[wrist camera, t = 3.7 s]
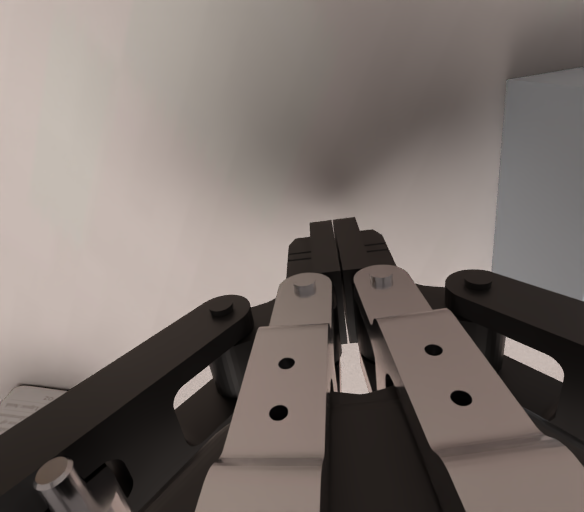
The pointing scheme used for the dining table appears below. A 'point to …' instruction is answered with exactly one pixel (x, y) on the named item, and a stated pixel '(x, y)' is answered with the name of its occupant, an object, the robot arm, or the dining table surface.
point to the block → (542, 183)
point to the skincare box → (24, 404)
